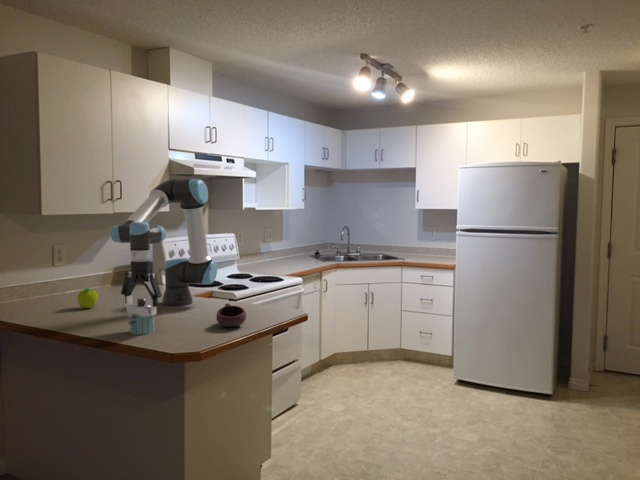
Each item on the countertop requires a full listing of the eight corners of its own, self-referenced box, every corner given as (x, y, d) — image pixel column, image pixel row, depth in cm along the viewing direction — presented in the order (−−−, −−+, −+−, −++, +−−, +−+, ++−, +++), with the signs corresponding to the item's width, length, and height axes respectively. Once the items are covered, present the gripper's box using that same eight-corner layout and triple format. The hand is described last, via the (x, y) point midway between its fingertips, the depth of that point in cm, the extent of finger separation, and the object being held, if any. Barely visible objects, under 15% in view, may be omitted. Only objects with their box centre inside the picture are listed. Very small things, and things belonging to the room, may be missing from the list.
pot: (144, 326, 226) (143, 310, 225) (161, 329, 222) (161, 312, 222) (121, 334, 214) (121, 317, 213) (139, 336, 210) (139, 319, 210)
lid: (140, 310, 225) (140, 295, 224) (161, 313, 220) (161, 297, 220) (121, 316, 215) (121, 300, 214) (143, 318, 210) (142, 302, 210)
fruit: (75, 310, 256) (75, 290, 255) (80, 306, 265) (79, 286, 264) (96, 309, 258) (95, 289, 257) (99, 305, 267) (99, 286, 266)
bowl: (252, 326, 227) (252, 308, 227) (227, 332, 218) (227, 312, 218) (230, 320, 239) (229, 302, 238) (205, 325, 229) (205, 306, 229)
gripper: (110, 259, 217) (112, 312, 219) (157, 263, 207) (158, 317, 209) (124, 257, 224) (125, 308, 225) (170, 260, 214) (171, 313, 216)
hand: (141, 313), depth 217 cm, fingers open, 12 cm apart
